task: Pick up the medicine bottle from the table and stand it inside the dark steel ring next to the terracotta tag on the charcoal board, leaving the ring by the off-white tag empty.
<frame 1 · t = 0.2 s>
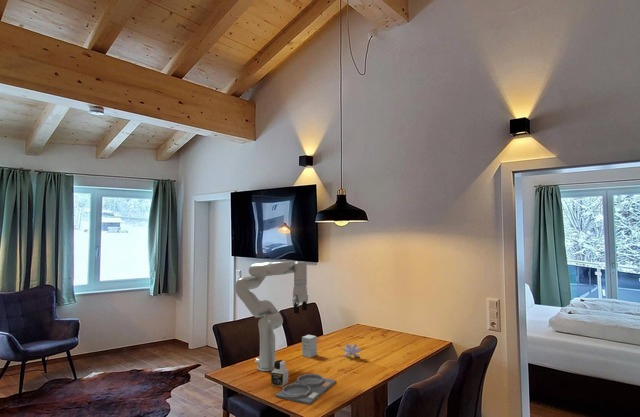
hand: (300, 311, 221), 36 cm above the table, tool pointing down, fingers open, 9 cm apart
steel rings: (303, 385, 199), on the socket board, point 1 cm above the table
supplement box: (309, 355, 253), on the table
water lily: (352, 358, 247), on the table
socket board: (306, 389, 198), on the table
medicine bottle: (279, 383, 205), on the table
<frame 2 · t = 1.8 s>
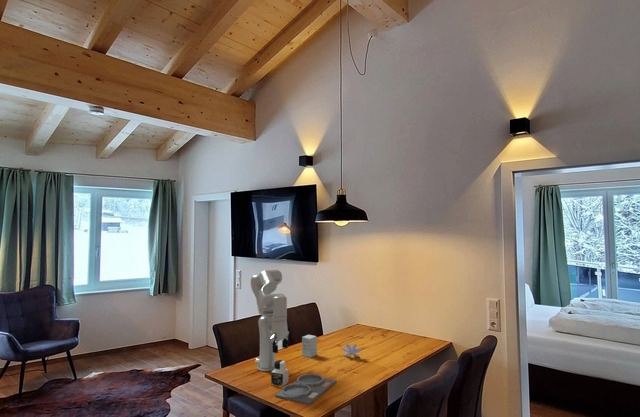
hand: (280, 350, 206), 18 cm above the table, tool pointing down, fingers open, 9 cm apart
nothing on the table moved.
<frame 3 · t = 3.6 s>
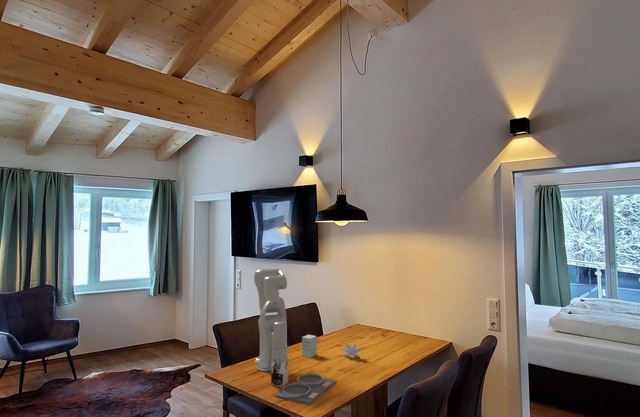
hand: (279, 377, 206), 3 cm above the table, tool pointing down, fingers closed on medicine bottle, 7 cm apart
medicine bottle: (279, 383, 205), on the table, touching gripper
everything else where it was.
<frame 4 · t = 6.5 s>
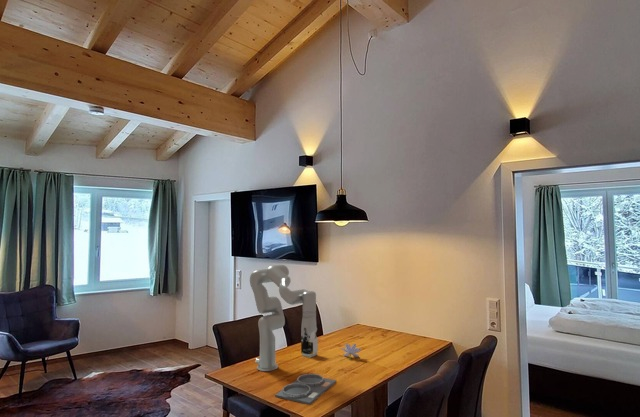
hand: (309, 346, 207), 20 cm above the table, tool pointing down, fingers closed on medicine bottle, 7 cm apart
medicine bottle: (309, 353, 206), point 16 cm above the table, touching gripper
everything else where it was.
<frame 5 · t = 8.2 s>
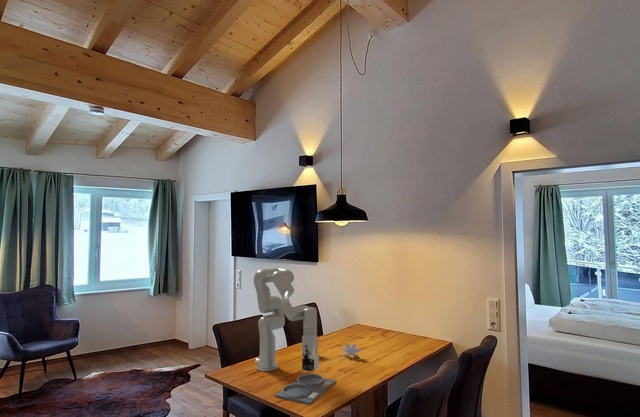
hand: (310, 362, 206), 11 cm above the table, tool pointing down, fingers closed on medicine bottle, 7 cm apart
medicine bottle: (310, 369, 206), point 7 cm above the table, touching gripper
everything else where it was.
when the fingers open (6 cm above the table, at t = 9.7 s): medicine bottle drops 2 cm, resting on socket board.
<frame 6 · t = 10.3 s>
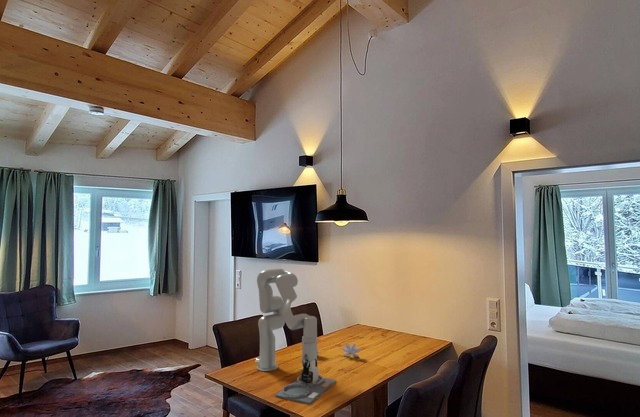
hand: (310, 371, 206), 7 cm above the table, tool pointing down, fingers open, 9 cm apart
medicine bottle: (309, 381, 206), point 1 cm above the table, touching socket board
everything else where it was.
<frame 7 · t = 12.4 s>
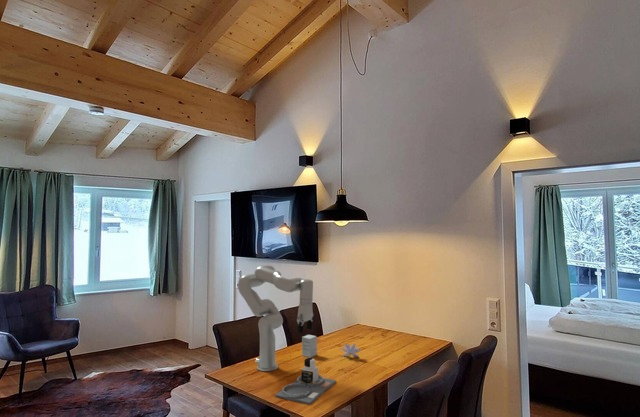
hand: (305, 330, 218), 26 cm above the table, tool pointing down, fingers open, 9 cm apart
nothing on the table moved.
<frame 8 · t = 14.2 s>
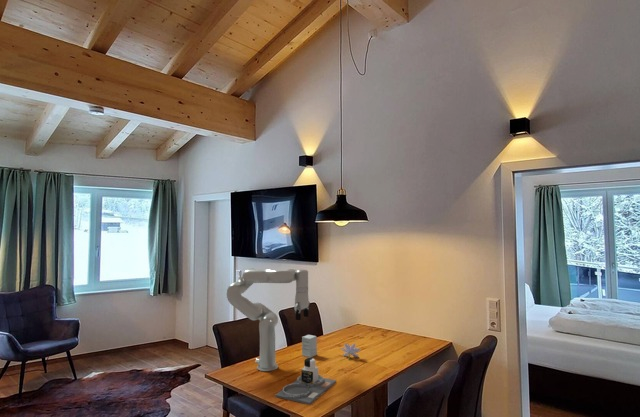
hand: (302, 318, 230), 30 cm above the table, tool pointing down, fingers open, 9 cm apart
nothing on the table moved.
at the end: medicine bottle 0.3 cm from the target spot, point 0.8 cm above the table; medicine bottle tilted 0°; the gripper is holding nothing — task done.
